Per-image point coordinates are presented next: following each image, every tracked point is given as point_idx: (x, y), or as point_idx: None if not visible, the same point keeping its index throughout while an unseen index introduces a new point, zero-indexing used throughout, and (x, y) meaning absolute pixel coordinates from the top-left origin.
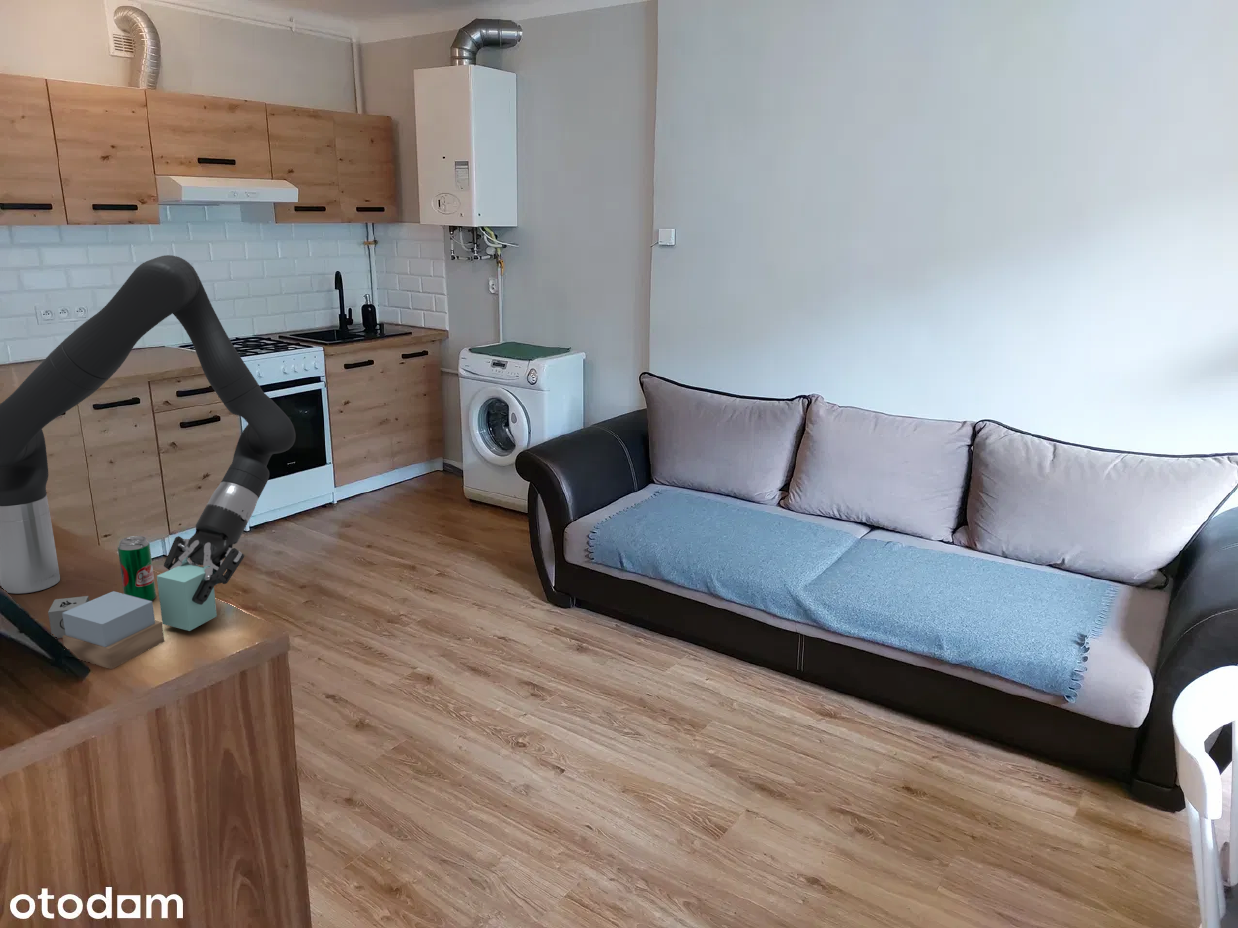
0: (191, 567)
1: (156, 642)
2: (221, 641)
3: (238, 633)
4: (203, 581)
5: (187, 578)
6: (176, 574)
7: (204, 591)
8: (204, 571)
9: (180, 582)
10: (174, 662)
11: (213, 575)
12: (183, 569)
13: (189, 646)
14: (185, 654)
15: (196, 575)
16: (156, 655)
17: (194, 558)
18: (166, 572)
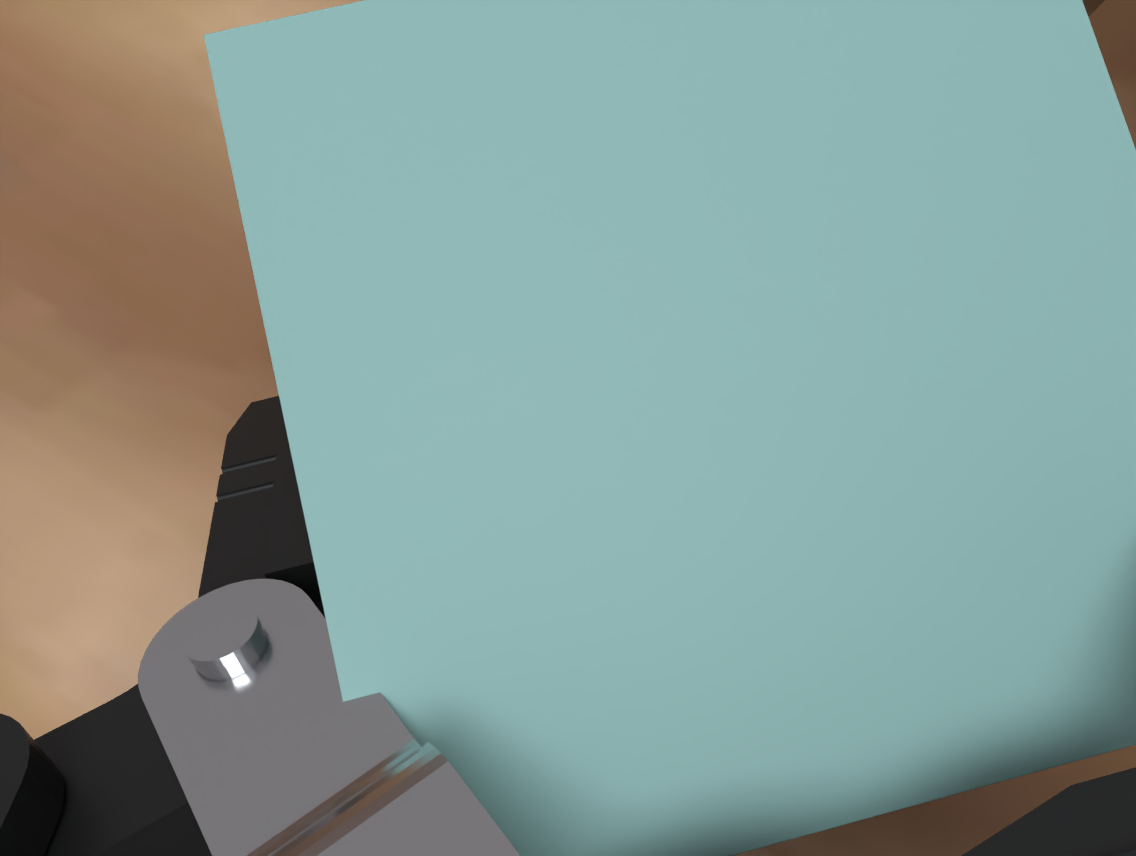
0: (919, 635)
1: None
2: (83, 487)
3: (88, 689)
4: (291, 556)
5: (351, 199)
6: (778, 165)
7: (221, 495)
8: (409, 712)
9: (325, 21)
10: (89, 28)
11: (157, 792)
12: (946, 432)
13: (244, 254)
14: (138, 155)
15: (346, 437)
16: (329, 6)
17: (1123, 851)
18: (1068, 88)
